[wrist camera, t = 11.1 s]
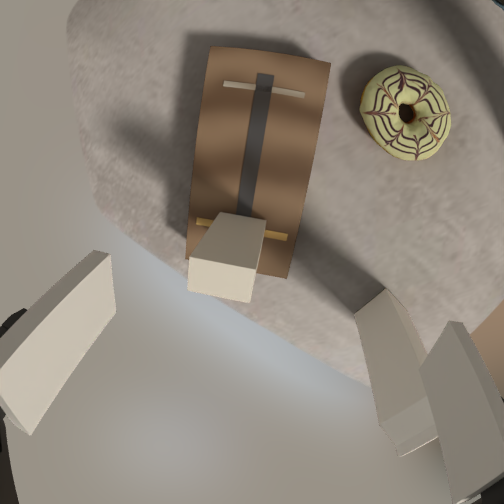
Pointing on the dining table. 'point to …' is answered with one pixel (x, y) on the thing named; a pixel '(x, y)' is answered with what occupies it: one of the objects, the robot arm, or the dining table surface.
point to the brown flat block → (257, 146)
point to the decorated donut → (387, 113)
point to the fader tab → (227, 258)
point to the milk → (396, 372)
